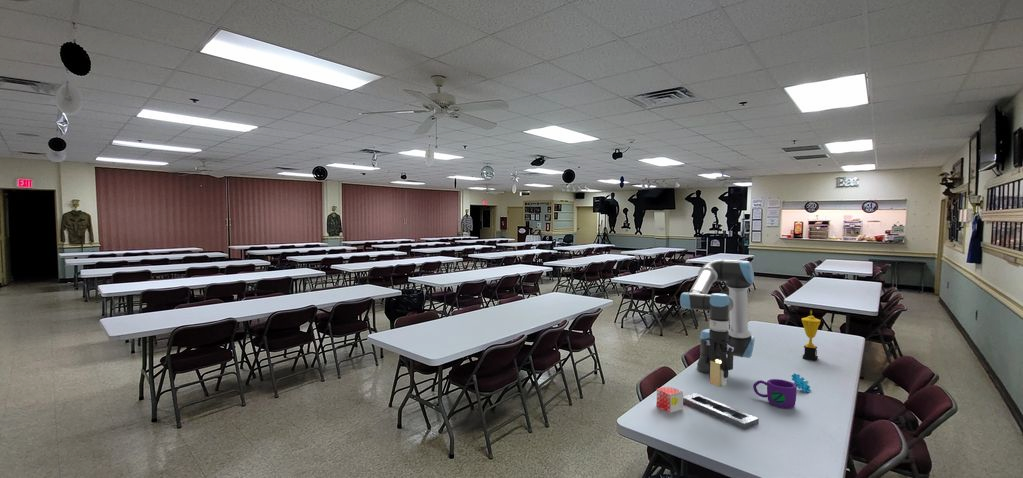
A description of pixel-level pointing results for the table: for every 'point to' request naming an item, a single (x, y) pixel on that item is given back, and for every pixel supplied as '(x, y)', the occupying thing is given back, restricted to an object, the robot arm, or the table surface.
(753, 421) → the rail
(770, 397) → the mug
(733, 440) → the table surface
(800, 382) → the gear
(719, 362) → the brass peg
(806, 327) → the trophy
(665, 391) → the red patterned cube
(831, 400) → the table surface
